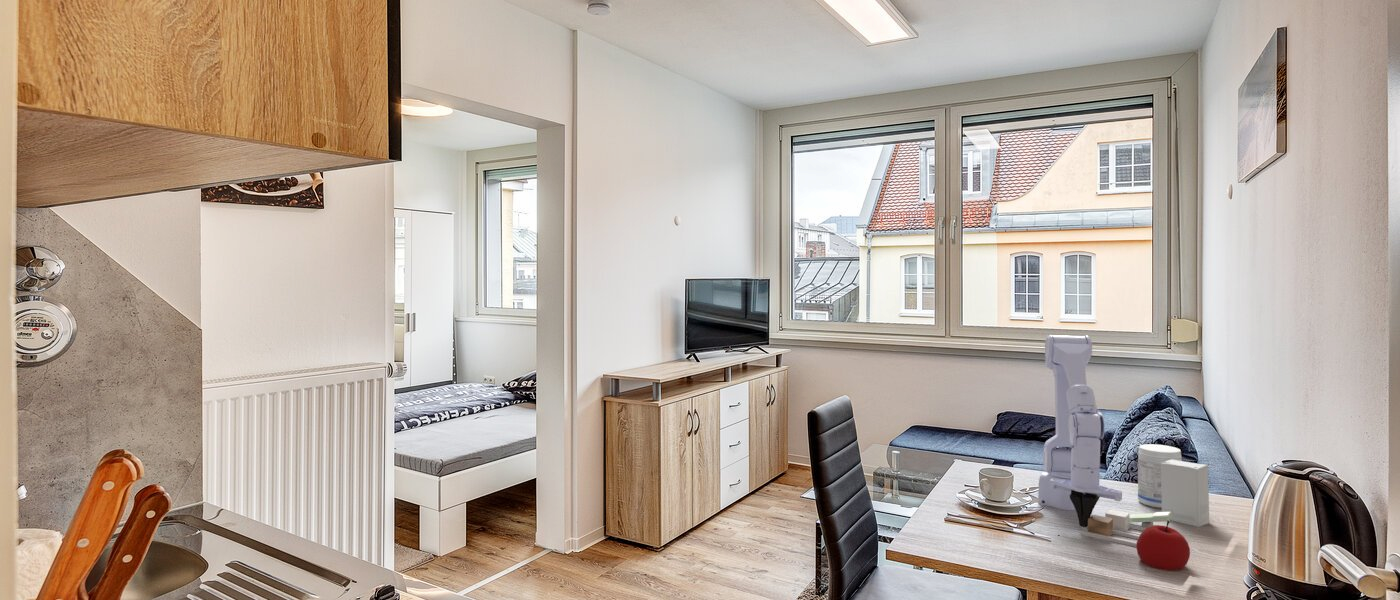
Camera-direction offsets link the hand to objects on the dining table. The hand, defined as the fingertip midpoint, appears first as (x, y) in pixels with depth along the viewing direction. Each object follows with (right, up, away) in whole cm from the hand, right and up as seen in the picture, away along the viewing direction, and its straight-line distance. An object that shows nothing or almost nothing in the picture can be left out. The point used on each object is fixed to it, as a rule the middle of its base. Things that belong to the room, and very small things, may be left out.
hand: (1084, 525), depth 165 cm
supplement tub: (+32, -2, +25) cm, 41 cm away
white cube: (+9, -1, +2) cm, 9 cm away
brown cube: (+2, -1, -2) cm, 3 cm away
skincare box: (+28, -3, +8) cm, 29 cm away
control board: (+10, -3, 0) cm, 10 cm away
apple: (+6, -3, -19) cm, 20 cm away
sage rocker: (+16, +1, +2) cm, 16 cm away
